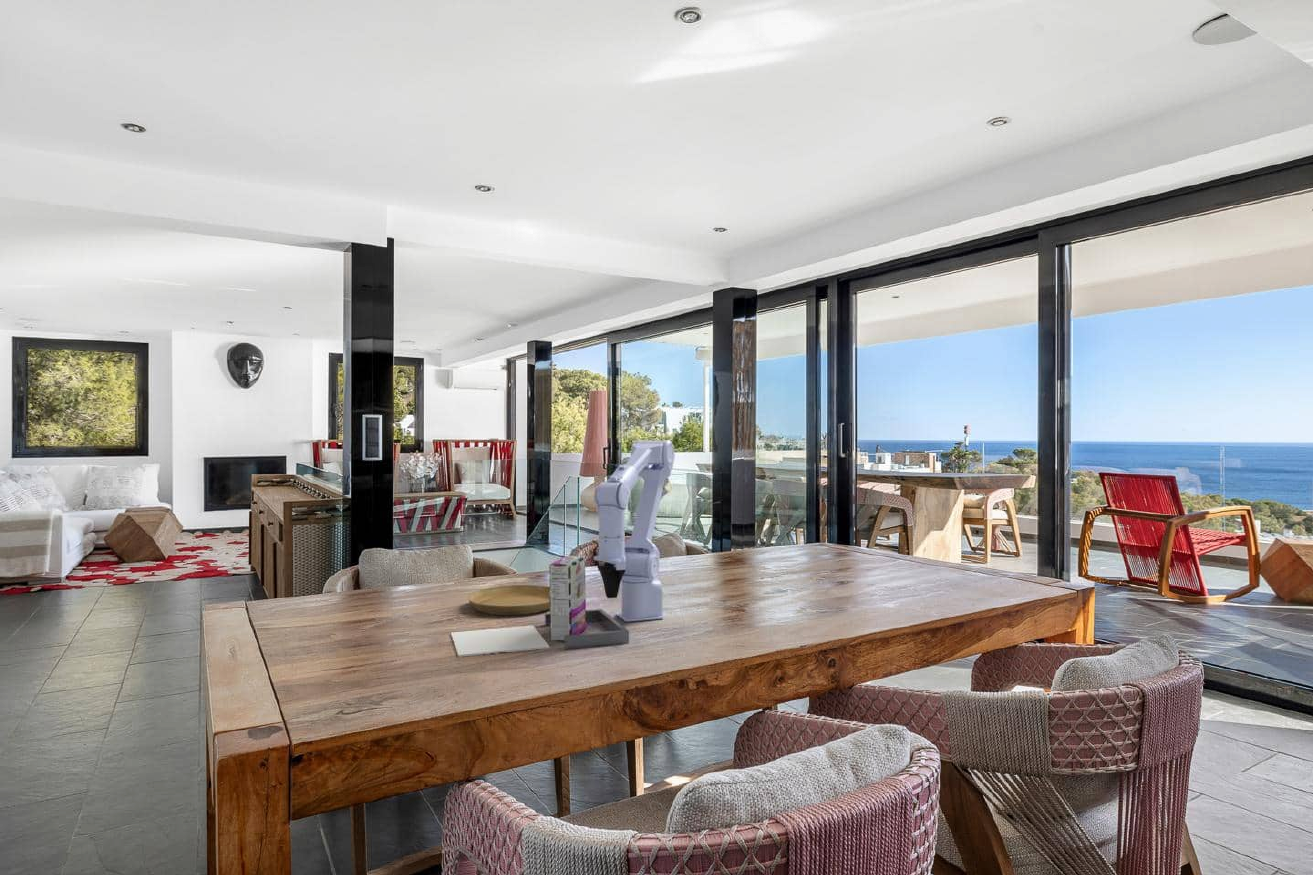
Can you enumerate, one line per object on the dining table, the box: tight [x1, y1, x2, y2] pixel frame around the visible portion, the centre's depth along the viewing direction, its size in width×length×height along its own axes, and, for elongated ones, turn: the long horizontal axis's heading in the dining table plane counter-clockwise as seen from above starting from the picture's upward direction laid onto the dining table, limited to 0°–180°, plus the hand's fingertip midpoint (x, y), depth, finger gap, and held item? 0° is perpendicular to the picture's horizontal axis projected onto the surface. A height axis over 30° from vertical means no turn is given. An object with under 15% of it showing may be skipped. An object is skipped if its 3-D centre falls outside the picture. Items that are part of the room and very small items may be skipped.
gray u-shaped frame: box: [544, 608, 630, 650], centre depth 165 cm, size 14×21×2 cm, turn 20°
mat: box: [450, 625, 550, 658], centre depth 159 cm, size 18×18×1 cm
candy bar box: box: [548, 555, 587, 642], centre depth 164 cm, size 11×5×16 cm, turn 168°
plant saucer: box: [467, 584, 550, 616], centre depth 192 cm, size 24×24×3 cm
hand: (611, 597), depth 167 cm, fingers closed
